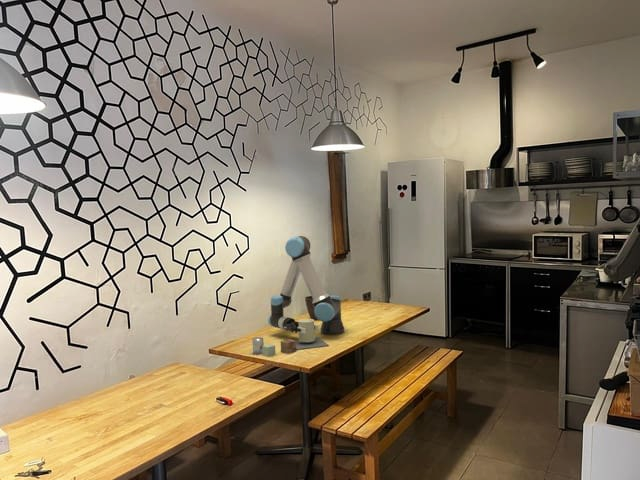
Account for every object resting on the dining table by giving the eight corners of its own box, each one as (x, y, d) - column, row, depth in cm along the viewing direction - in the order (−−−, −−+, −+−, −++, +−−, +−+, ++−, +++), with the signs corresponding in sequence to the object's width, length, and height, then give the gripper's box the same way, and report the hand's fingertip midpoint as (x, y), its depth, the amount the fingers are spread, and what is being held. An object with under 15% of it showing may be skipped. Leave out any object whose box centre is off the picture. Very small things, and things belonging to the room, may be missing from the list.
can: (312, 342, 267) (312, 321, 266) (297, 342, 269) (296, 321, 268) (316, 338, 276) (315, 317, 275) (301, 338, 278) (300, 317, 277)
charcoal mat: (318, 337, 285) (318, 336, 285) (328, 346, 266) (328, 345, 266) (286, 341, 279) (286, 340, 279) (294, 350, 260) (294, 349, 260)
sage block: (270, 352, 258) (269, 343, 257) (275, 354, 254) (275, 345, 254) (262, 355, 254) (262, 345, 254) (267, 356, 250) (267, 347, 250)
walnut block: (289, 349, 262) (289, 339, 262) (296, 351, 258) (296, 340, 258) (281, 352, 258) (280, 341, 258) (287, 354, 254) (287, 343, 254)
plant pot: (326, 321, 329) (325, 298, 328) (305, 322, 329) (304, 299, 328) (326, 316, 344) (325, 295, 343) (306, 317, 344) (305, 295, 343)
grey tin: (262, 350, 262) (262, 336, 261) (264, 353, 256) (264, 339, 256) (252, 352, 260) (251, 337, 260) (253, 355, 254) (253, 340, 254)
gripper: (301, 326, 293) (325, 332, 276) (273, 333, 278) (297, 339, 262) (300, 314, 292) (325, 319, 276) (272, 320, 278) (296, 326, 261)
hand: (311, 329), depth 269 cm, fingers closed on can, 9 cm apart
